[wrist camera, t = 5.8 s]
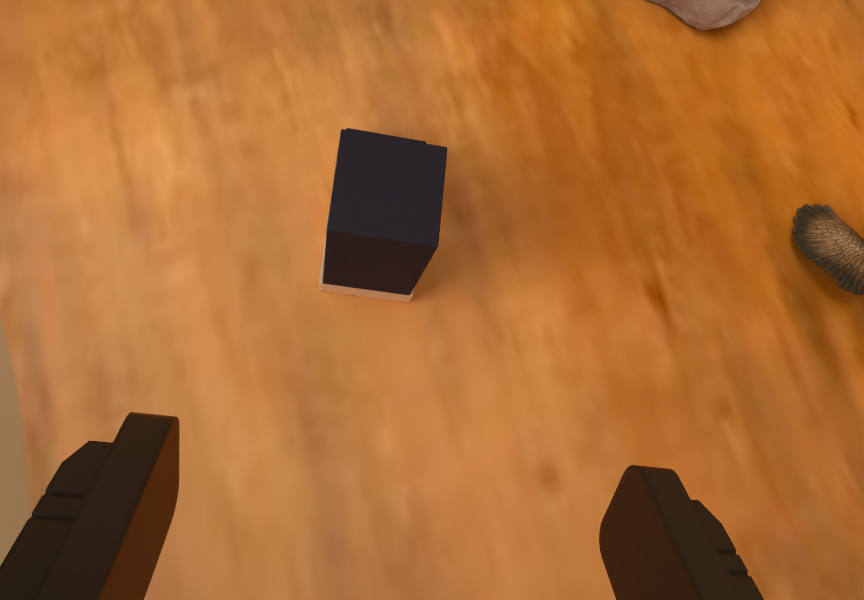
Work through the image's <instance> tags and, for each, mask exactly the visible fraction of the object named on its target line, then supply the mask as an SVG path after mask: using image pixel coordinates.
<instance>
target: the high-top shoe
mask: <svg viewBox="0 0 864 600" xmlns="http://www.w3.org/2000/svg"><path fill="white" fill-rule="evenodd" d="M446 157H447V147H442V146H436V145H430V144H426V142H424V141H418V140H413V139H407V138H401V137H395V136H390V135H384V134H378V133H372V132H367V131H361V130H355V129H350V128H347V129H346V130H344V129H342V130H341V132H340V139H339V146H338V153H337V160H336V167H335V174H334V181H333V187H332V194H331V201H330V208H329V215H328V222H327V229H326V236H325V243H324V250H323V257H322V264H321V271H320V278H319V288H318V289H319V290H320V291H326V292H333V293H340V294H348V295H355V296H362V297H370V298H377V299H384V300H392V301H399V302H406V303H408V302H410V300H411V298H412V297H413V293H414V287H415V285H416V283H417V282H418V280H419V278H420V276H421V275H422V273H423V271H424V269H425V268H426V266H427V264H428V263H429V261H430V259H431V257H432V256H433V254H434V252H435V250H436V249H437V247H438V241H439V231H440V220H441V210H442V199H443V188H444V178H445V167H446Z"/></svg>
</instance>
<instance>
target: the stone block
mask: <svg viewBox="0 0 864 600" xmlns="http://www.w3.org/2000/svg"><path fill="white" fill-rule="evenodd" d="M649 1H651V2H653V3H656V4H659V5H662V6H663V7H665V8H667V9H669V10H670V11H671V12H672V13H674V14H675V15H676V16H678V17H680V18H681V19H683V21H684V22H685V23H687V24H689V25H691V26H693V27H694V28H697V29H700V30H702V31H704V30H708V29H715V28H720V27H724V26H728V25H730V24H732V23H734V22H736V21H738V20H740V19H742V18H744V17H745V16H746V15H748V14H749V13H750V12H752V11H753V10H754V9H755V8H756V7H757V5H758V4H759V3H760V0H649Z"/></svg>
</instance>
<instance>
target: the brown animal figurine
mask: <svg viewBox="0 0 864 600" xmlns="http://www.w3.org/2000/svg"><path fill="white" fill-rule="evenodd" d="M797 213H798V216H795V217H794V222H795V224H796V225H797V227H793V231H794V233H795V234H796V235H794V236H793V238H794V240H795V242H796V244H797V245H798V246H799V250H800V251H801V252H803V253H804V254H805V256H806V257H807V258H811V259H813V261H814V262H815V263H816V264H817V265H818V266H821V267H824V270H825V271H827V272H828V273H829V275H830V276H833V277H835V282H837V283H838V286H839V287H842V288H843V289H844V290H847V291H850V292H851V293H853V294H855V295H856V294H859V295H864V239H863V238H861V237H860V236H859V235H858V234H857V233H856V232H855V231H854V230H852V229H851V228H850V227H849V226H847V225H846V224H845V223H844V222H843V221H842V220H841V219H840V218H839V217H838V216H837V215H836V213H835V212H834V211H833V210H832V209H831V208H830V207H829V206H827V205H825V206H823V207H822V206H820V205H818V204H814V205H813V206H812V207H811V206H810V205H807V204H806V205H804V206H803V208H798V210H797Z"/></svg>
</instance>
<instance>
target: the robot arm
mask: <svg viewBox="0 0 864 600" xmlns="http://www.w3.org/2000/svg"><path fill="white" fill-rule="evenodd" d="M178 489H179V419H178V417H173V416H164V415H154V414H144V413H134V412H131V413H129V414H128V416H127V417H126V419H125V421H124V422H123V424H122V426H121V428H120V430H119V432H118V434H117V436H116V438H115V440H114V442H113V443H108V442H98V441H88V442H87V443H86V444H85V445H83V446H82V447H81V448H80V449H78V450H77V451H76V452H75V453H73V454H72V455H71V456H70V457H68V458H67V459H66V460H65V461H63V462H62V463H61V465H60V467H59V468H58V470H57V472H56V473H55V475H54V477H53V478H52V480H51V482H50V483H49V485H48V487H47V489H46V492H45V495H42V497H41V499H40V500H39V502H38V504H37V505H36V507H35V509H34V510H33V512H32V517H31V519H28V521H27V522H26V524H25V526H24V527H23V529H22V531H21V533H20V534H19V536H18V537H17V539H16V541H15V543H14V544H13V546H12V548H11V549H10V551H9V553H8V554H7V556H6V558H5V559H4V561H3V563H2V564H1V566H0V600H144V598H145V595H146V592H147V589H148V586H149V584H150V581H151V578H152V575H153V572H154V569H155V567H156V564H157V561H158V558H159V555H160V552H161V550H162V547H163V544H164V541H165V538H166V536H167V533H168V530H169V527H170V524H171V521H172V518H173V515H174V511H175V507H176V502H177V496H178ZM599 545H600V552H601V556H602V559H603V562H604V565H605V568H606V571H607V574H608V577H609V580H610V583H611V585H612V588H613V591H614V594H615V597H616V600H764V599H763V597H762V595H761V594H760V592H759V590H758V588H757V586H756V585H755V583H754V581H753V579H752V577H751V576H748V574H747V572H748V570H747V569H746V567H745V565H744V563H743V561H742V560H741V558H740V556H739V555H736V549H735V547H734V545H733V544H732V542H731V540H730V538H729V536H728V535H727V533H726V531H725V529H724V527H723V526H722V524H721V523H720V522H719V521H718V520H717V519H716V518H715V517H714V516H713V515H712V514H711V513H710V512H709V511H708V510H707V509H706V508H705V506H704V505H703V504H702V503H701V502H700V501H699V500H691V499H690V498H689V496H688V494H687V492H686V490H685V488H684V486H683V484H682V482H681V481H680V479H679V477H678V475H677V474H676V473H675V472H674V471H673V470H671V469H666V468H656V467H646V466H636V465H631V466H629V467H628V468H627V469H626V470H625V472H624V474H623V476H622V478H621V480H620V483H619V485H618V487H617V489H616V491H615V494H614V496H613V498H612V500H611V502H610V505H609V507H608V509H607V511H606V513H605V515H604V518H603V520H602V523H601V527H600V534H599Z"/></svg>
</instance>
